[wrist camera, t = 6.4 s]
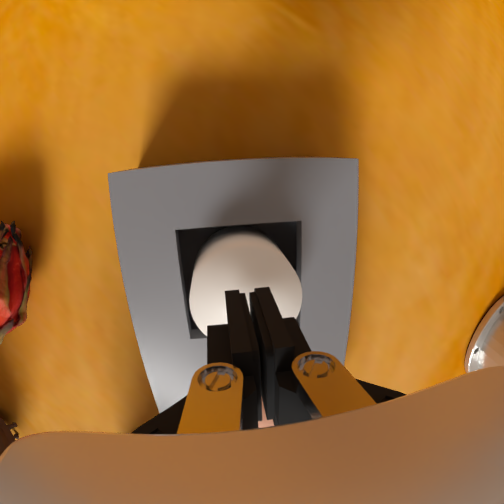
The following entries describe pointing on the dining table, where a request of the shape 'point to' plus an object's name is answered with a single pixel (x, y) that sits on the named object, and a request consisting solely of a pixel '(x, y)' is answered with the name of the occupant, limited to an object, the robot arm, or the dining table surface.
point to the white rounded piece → (240, 274)
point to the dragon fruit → (13, 279)
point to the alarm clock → (6, 435)
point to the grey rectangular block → (223, 216)
